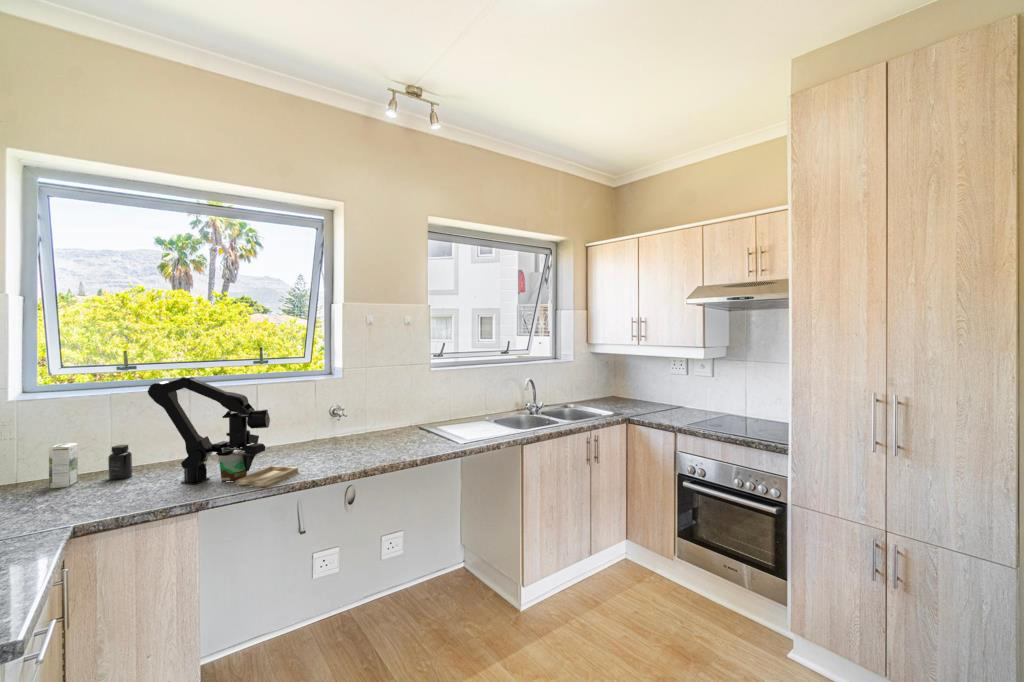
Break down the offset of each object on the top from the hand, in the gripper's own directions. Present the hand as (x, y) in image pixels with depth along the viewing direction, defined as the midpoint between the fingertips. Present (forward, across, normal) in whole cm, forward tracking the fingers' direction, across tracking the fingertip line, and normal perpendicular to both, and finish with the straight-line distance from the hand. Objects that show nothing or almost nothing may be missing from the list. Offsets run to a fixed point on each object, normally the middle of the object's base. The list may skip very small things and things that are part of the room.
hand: (238, 470), depth 174 cm
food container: (+3, 0, 0) cm, 3 cm away
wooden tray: (+3, -11, -2) cm, 12 cm away
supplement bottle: (+3, +44, +8) cm, 45 cm away
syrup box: (+3, +55, +19) cm, 58 cm away
